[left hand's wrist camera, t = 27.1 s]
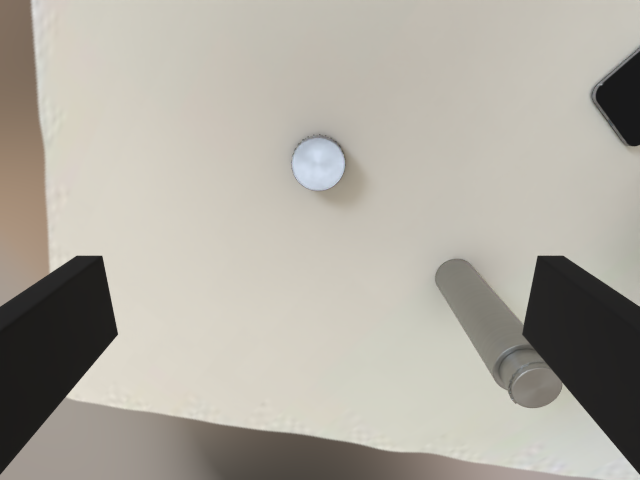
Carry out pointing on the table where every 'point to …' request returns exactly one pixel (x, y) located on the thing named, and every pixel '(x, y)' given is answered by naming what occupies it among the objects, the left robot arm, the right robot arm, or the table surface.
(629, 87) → the smartphone
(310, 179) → the lid
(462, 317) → the grey long cylinder
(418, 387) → the table surface
